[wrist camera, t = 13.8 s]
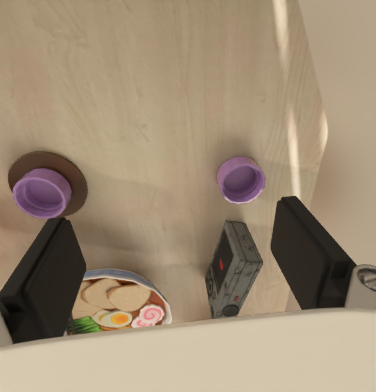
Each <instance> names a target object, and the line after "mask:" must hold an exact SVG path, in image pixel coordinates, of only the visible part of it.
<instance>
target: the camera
mask: <svg viewBox="0 0 376 392" xmlns="http://www.w3.org/2000/svg"><path fill="white" fill-rule="evenodd" d="M262 265H263V260H262V258H261V256H260V254H259V252H258V249H257V247H256V245H255V243H254V241H253V239H252V236H251V234H250V232H249V230H248V228H247V226H246V224H245V223H239V222H231V221H226V223H225V225H224V228H223V231H222V234H221V237H220V239H219V242H218V245H217V248H216V251H215V253H214V256H213V259H212V262H211V265H210V267H209V270H208V273H207V276H206V278H205V282H206V288H207V294H208V299H209V305H210V311H211V316H212V319H219V318H228V317H237V315H238V313H239V311H240V309H241V307H242V305H243V303H244V301H245V299H246V297H247V295H248V293H249V291H250V289H251V287H252V285H253V283H254V281H255V279H256V277H257V275H258V273H259V271H260V269H261V267H262Z"/></svg>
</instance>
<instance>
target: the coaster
mask: <svg viewBox="0 0 376 392" xmlns="http://www.w3.org/2000/svg"><path fill="white" fill-rule="evenodd" d="M42 168H45V169H49V170H53V171H55V172H57V173H58V174H60V175H62V176H63V177H64V178H65V179H66V180H67V181H68V183H69V185H70V188H71V191H72V193H71V199H70V201H69V202H68V204H67V206H66V207H65V209H64V210H63V212H62V213H61V214H60V215H58V216H56V217H64V216H68V215H71V214H73V213H75V212H76V211H78V210H79V209H80V208H81V207H82V206H83V204H84V202H85V200H86V198H87V193H88V188H87V183H86V180H85V178H84V176H83V174H82V173H81V171H80V170H79V169H78V168H77V167H76V166H75V165H74V164H73V163H72V162H70V161H69V160H67V159H66V158H64V157H62V156H59V155H57V154H54V153H49V152H31V153H28V154H25V155H23V156H21V157H20V158H18V159H17V160H16V161H15V162H14V163H13V164H12V166H11V168H10V170H9V174H8V182H9V186H10V189H11V191H12V193H13V188H14V186H15V185H16V183H17V182H18V181H19V180H20V179H21V178H22V177H23V176H24V175H25V174H26V173H28V172H30V171H32V170H34V169H42Z"/></svg>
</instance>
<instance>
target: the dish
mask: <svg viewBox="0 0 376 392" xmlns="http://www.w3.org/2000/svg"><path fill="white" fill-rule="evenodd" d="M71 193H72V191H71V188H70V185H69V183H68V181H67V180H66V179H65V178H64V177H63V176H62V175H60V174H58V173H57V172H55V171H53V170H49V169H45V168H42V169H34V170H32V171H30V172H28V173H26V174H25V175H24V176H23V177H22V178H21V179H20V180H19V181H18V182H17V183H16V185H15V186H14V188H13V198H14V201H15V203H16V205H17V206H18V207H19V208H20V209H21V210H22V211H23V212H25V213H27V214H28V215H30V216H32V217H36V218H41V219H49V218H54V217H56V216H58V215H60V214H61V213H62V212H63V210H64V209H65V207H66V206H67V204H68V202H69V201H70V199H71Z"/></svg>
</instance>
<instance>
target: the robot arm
mask: <svg viewBox="0 0 376 392" xmlns="http://www.w3.org/2000/svg"><path fill="white" fill-rule="evenodd" d="M271 251H272V254H273V256H274V257H275V259H276V261H277V263H278V265H279V267H280V269H281V271H282V273H283V275H284V277H285V279H286V280H287V282H288V284H289V286H290V288H291V290H292V292H293V294H294V296H295V298H296V300H297V301H298V303H299V305H300V307H301V309H302V310H297V311H286V312H276V313H266V314H257V315H247V316H238V317H228V318H219V319H209V320H200V321H191V322H182V323H173V324H164V325H155V326H146V327H138V328H129V329H120V330H112V331H103V332H95V333H86V334H78V335H70V336H64V333H65V330H66V327H67V324H68V321H69V318H70V315H71V312H72V309H73V307H74V304H75V301H76V298H77V295H78V292H79V289H80V286H81V283H82V280H83V278H84V275H85V272H86V263H85V260H84V257H83V255H82V252H81V249H80V246H79V244H78V241H77V238H76V236H75V233H74V230H73V227H72V225H71V222H70V221H69V220H66V219H65V218H64V217H57V218H49V219H48V221H47V222H46V224H45V225H44V227H43V228H42V230H41V231H40V233H39V234H38V236H37V237H36V239H35V240H34V242H33V243H32V245H31V246H30V248H29V249H28V251H27V252H26V254H25V255H24V257H23V258H22V260H21V261H20V263H19V264H18V266H17V267H16V269H15V270H14V272H13V273H12V275H11V276H10V278H9V279H8V281H7V282H6V284H5V285H4V287H3V288H2V290H1V292H0V392H376V266H374V265H367V264H363V265H358V266H357V265H356V264H355V263H354V261H353V260H352V259H351V258H350V257H349V256H348V255H347V254H346V252H344V250H343V249H342V248H341V247H340V246H339V244H338V243H337V242H336V241H335V240H334V239H333V238H332V236H331V235H330V234H329V233H328V232H327V231H326V230H325V228H324V227H323V226H322V225H321V224H320V223H319V222H318V221H317V220H316V218H315V217H314V216H313V215H312V214H311V213H310V211H309V210H308V209H307V208H306V207H305V206H304V205H303V203H302V202H301V201H300V200H299V199H298V198H297V197H296V196H289V197H282V198H281V200H280V201H278V202H277V207H276V213H275V220H274V226H273V233H272V239H271Z"/></svg>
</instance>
